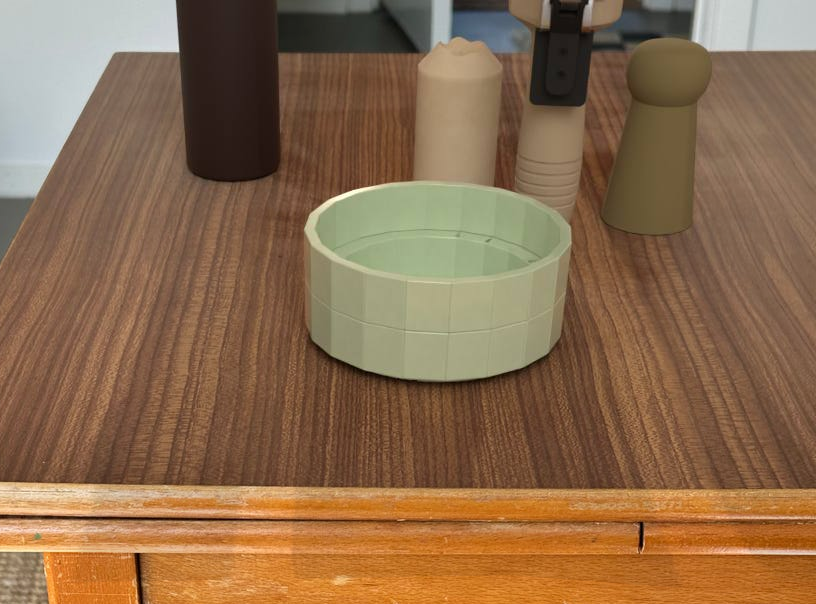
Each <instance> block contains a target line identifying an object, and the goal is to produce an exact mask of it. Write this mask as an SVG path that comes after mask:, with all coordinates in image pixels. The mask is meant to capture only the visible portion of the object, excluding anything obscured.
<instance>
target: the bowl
mask: <svg viewBox="0 0 816 604" xmlns="http://www.w3.org/2000/svg"><path fill="white" fill-rule="evenodd" d="M572 239H573V237H572V227H571V225H570V223H569V224H568V223H567V222H566V220H565V219H564V218H563V217H562V216H561V215H560V214H559V212H557V211H556V210H554V209H552V208H550V207H549V206H547V205H545V204H543V203H541V202H539V201H538V200H536V199H533V198H531V197H528V196H524V195H521V194H518V193H515V191H511V190H509V189H506V188H505V189H504V188H501V187H495V186H494V187H490V186H484V185H478V184H471V183H464V182H447V181H413V180H411V181H398V182H388V183H387V182H386V183H382V184H377V185H372V186H367V187H361V188H357V189H352V190H349V191H347V192H345V193H342V194H340V195H337V196H334V197H331V198H329V199H327V200H326V201H324V202H323V203H322V204H320V205H319V206H317V207H316V208H315V209H314V210H312V211H311V212H310V213H309V215H308V217H307V221H306V222H305V225H304V228H303V267H304V268H303V271H304V272H303V275H304V323H305V326H306V328H307V332H308V333H309V336H310V338H311V340H312V342H313V343H315V344H316V345H317V346H318V347H319V348H321V349H322V350H323V351H324V352H325V353H326V354H328V355H329V356H330V357H332V358H335V359H337V360H339V361H341V362H344V363H346V364H348V365H351V366H353V367H355V368H358V369H360V370H362V371H365V372H368V373H369V372H370V373H374V374H376V375H377V374H378V375H380V376H384V377H389V378H393V379H398V378H399V379H398V380H405V379H406V380H405V381H412V380H417V381H416V382H423V383H455V382H465V381H466V382H467V381H474V380H481V379H484V378H485V379H486V378H490V377H494V376H498V375H501V374H505V373H509V372H513V371H517V370H521V369H522V368H525V367H527V366H529V365H531V364H532V363H534V362H536V361H538V360H540V359H541V358H543V357H545V356H547V354H549V353H550V352H551V350H552V349H553V348H554V346H555V345H556V344H557V342H558V341H559V339H560V338H561V336H562V329H563V321H564V313H565V303H566V295H567V286H568V278H569V271H570V262H571V254H572V246H573V245H572V244H573V240H572Z"/></svg>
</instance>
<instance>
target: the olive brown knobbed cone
mask: <svg viewBox="0 0 816 604" xmlns="http://www.w3.org/2000/svg"><path fill="white" fill-rule="evenodd" d="M625 69H626V70H625V78H626V79H625V80H626V87H627V90H628V92H629V94H630V95H631V97H630V101H629V105H628V109H627V114H626V117H625V120H624V123H623V128H622V131H621V135H620V139H619V143H618V146H617V149H616V153H615V158H614V161H613V165H612V169H611V173H610V176H609V179H608V183H607V187H606V191H605V195H604V199H603V203H602V206H601V210H600V219H601V220H602V221H603V222H604V223H605V224H607V225H608V226H610V227H612V228H614V229H617V230H620V231H623V232H627V233H630V234H631V233H632V234H638V235H647V236H649V235H651V236H660V235H661V236H662V235H672V234H676V233H681V232H683V231H685V230H687V229H688V228H689V229H690V227H691V225H692V224H693V220H694V195H695V193H694V192H695V174H696V173H695V171H696V148H697V147H696V145H697V122H698V100H699V99H700V98H701V97H702V96H703V95H704V94H705V92H706V91H707V89H708V86H709V85H710V82H711V79H712V73H713V62H712V59H711V56H710V54H709V51H708V49H707V48H706V47H704V45H701V44H700V43H698V42H695V41H692V40H689V39H683V38H677V37H660V38H659V37H658V38H651V39H647V40H645V41H643V42H641V43H639V44H638V45H637V46H636V47H635V48H634V49H633V50H632V52H631V53H630V55H629V57H628V60H627V62H626V68H625Z"/></svg>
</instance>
